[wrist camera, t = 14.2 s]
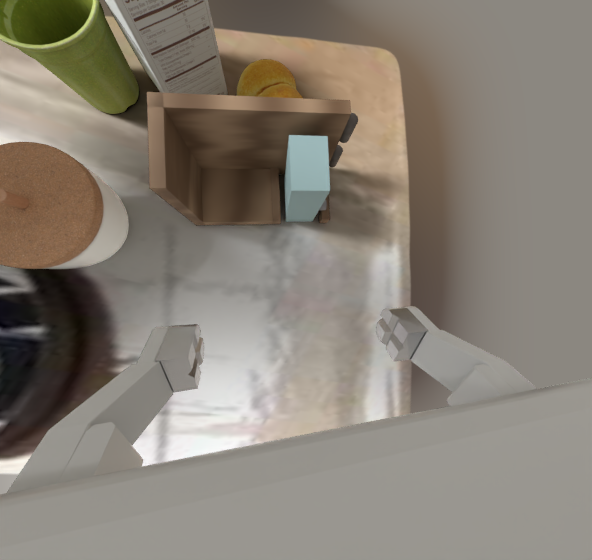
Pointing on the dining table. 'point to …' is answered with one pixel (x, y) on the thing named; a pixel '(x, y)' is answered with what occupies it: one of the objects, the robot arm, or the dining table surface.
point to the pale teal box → (306, 177)
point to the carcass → (234, 151)
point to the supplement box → (173, 43)
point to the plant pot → (72, 48)
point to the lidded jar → (55, 210)
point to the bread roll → (267, 80)
